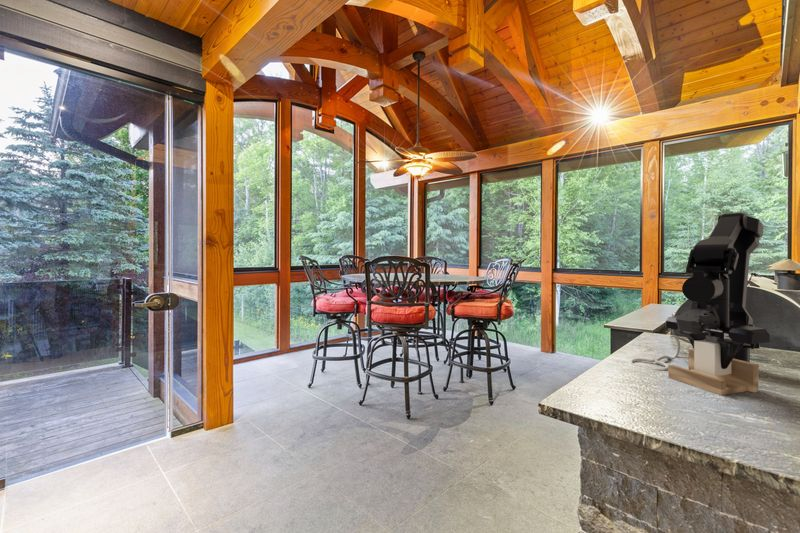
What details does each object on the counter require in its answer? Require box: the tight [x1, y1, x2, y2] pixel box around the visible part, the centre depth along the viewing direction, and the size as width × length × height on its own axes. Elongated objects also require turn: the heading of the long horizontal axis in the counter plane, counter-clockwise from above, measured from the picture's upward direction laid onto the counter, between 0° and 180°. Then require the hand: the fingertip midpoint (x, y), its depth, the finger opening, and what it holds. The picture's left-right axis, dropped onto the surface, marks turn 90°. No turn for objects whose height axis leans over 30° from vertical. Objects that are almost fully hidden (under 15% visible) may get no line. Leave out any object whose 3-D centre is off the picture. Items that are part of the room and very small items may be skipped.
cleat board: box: [667, 348, 760, 396], centre depth 87 cm, size 9×14×6 cm, turn 14°
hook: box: [629, 334, 681, 372], centre depth 104 cm, size 7×9×20 cm
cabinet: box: [694, 335, 731, 376], centre depth 86 cm, size 5×4×8 cm
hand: (712, 365), depth 86 cm, fingers closed on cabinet, 4 cm apart
